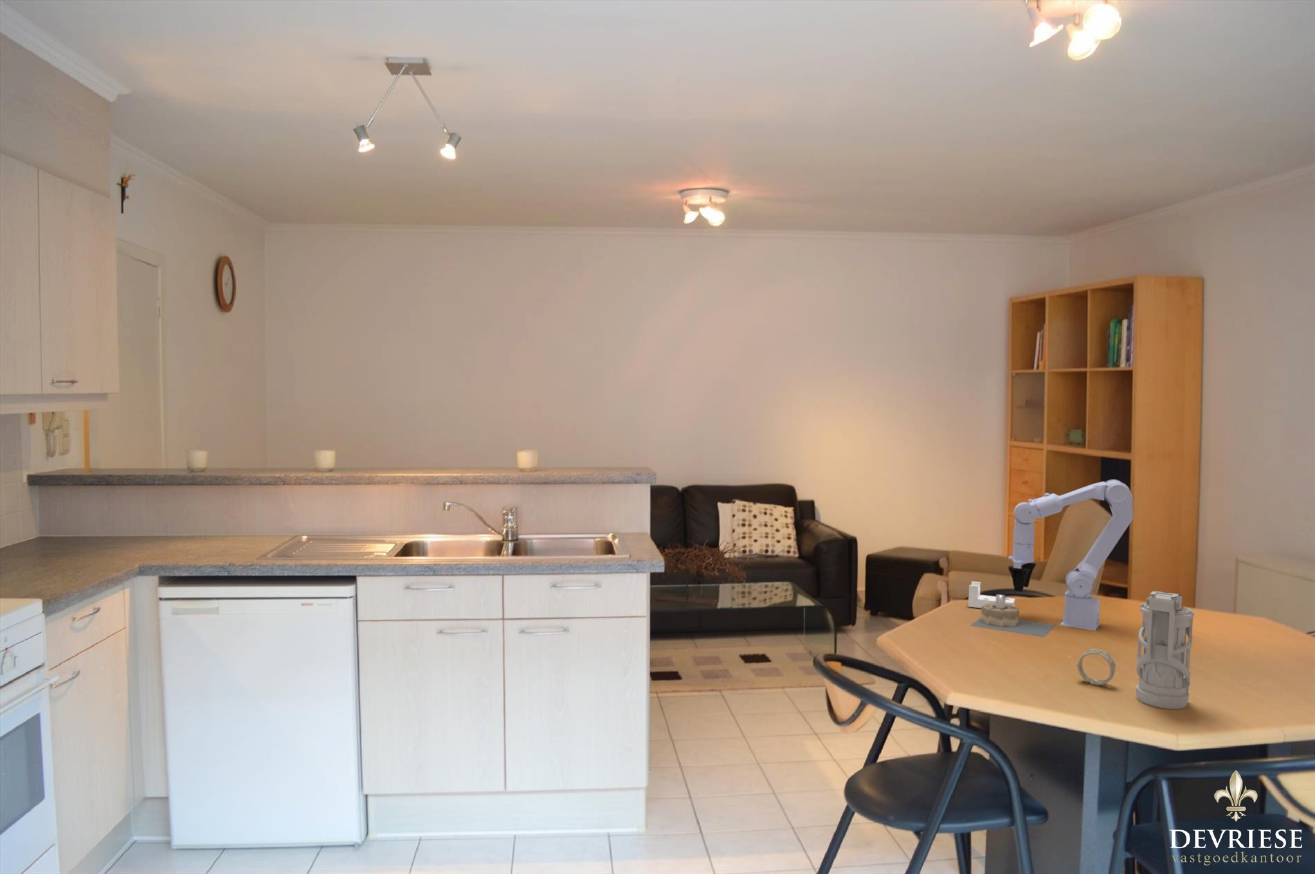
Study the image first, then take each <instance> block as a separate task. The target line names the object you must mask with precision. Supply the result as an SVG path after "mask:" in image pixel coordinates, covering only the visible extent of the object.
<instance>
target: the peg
mask: <svg viewBox="0 0 1315 874" xmlns="http://www.w3.org/2000/svg"><path fill="white" fill-rule="evenodd" d="M995 597H996V607H995V608H997V609H1005V598H1007V597H1006V595H1005V594H995Z"/></svg>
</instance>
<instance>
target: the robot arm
mask: <svg viewBox="0 0 1315 874" xmlns="http://www.w3.org/2000/svg"><path fill="white" fill-rule="evenodd" d="M1090 499H1094V500H1099V501H1107V503H1108V504H1109V508H1110V511H1111V514H1112V516H1111V517H1110V519H1109V521H1108V522H1107V523H1106V525H1105V526H1104V528H1103V529H1102V530H1101V533H1100V534H1099V535H1098V537H1097V539H1096V540H1095V541H1094V543H1093V544H1092V546H1091V548H1090V549H1089V550H1088V552H1087V554H1086V555H1085V556H1084V558H1083V559H1082V560H1081V561H1080V562H1079V563H1078V564H1077V566H1076V567H1075V568H1074V569H1072V570H1071V571H1069V572H1068V573H1067V574H1066V576H1065V584H1066V586H1067V587H1068V588H1067V590H1066V591H1065V592H1064V603H1063V604H1064V606H1063V620H1062V621H1061V622H1060V624H1059V626H1061V627H1069V628H1073V629H1074V628H1075V629H1082V630H1089V631H1097V629H1098V628H1099V626H1100V609H1101V599H1100V598H1098V597H1093V595H1092V593H1091V592H1092V591H1093V588H1094V587H1093V583H1094V582H1095V580H1096V578H1097V576H1098V573H1099V570H1100V569H1101V567H1102V566H1103V564H1104V563H1105V561H1106V560H1107V558H1108V557H1109V555H1110V554H1111V552H1112V551H1113V550H1114V548H1115V546H1116V545H1117V544H1118V542H1119V541H1120V539H1121V537H1122V536H1123V535H1124V532H1126V530H1127V528H1128V527H1129V525H1130V524H1131V522H1132V521H1133V519H1134V510H1133V508H1134V507H1133V506H1134V505H1133V500H1134V497H1133V494H1132V492H1131V490H1130V488H1129V486H1127V484H1126V483H1123V482H1122V481H1120V480H1118V479H1108V480H1106V481H1099V482H1096V483H1092V484H1089V485H1086V486H1083V487H1081V488H1078V489H1075V490H1073V491H1069V492H1067V493H1065V494H1064V493H1063V494H1061V495H1058V494H1056V493H1054V492H1053V493H1049V492H1046V493H1044V495H1043V496H1040V497H1038V498H1034V499H1032V498H1029V499H1028V500H1027V502H1026V501H1025V502H1023V501H1022V502H1019V503H1018V504H1016V506H1015V507H1014V510H1013V516H1014V523H1013V524H1014V527H1013V534H1012V535H1013V536H1012V537H1013V538H1012V555H1011V556H1010V555H1009V556H1008V560H1011V562H1013V565H1009V566H1008V568H1007V569H1008V571H1009V573H1010V576H1011V579H1012V585H1013V589H1014V592H1020V593H1021V592H1023V590H1024V588H1029V585H1030V581H1031V577H1032V575H1033V572H1034V569H1035V567H1036V566H1037V563H1035V558H1034V549H1035V548H1034V547H1035V521H1036V519H1042V518H1043V519H1044V518H1046V517H1048V516H1052V515H1054V514H1058V513H1061V512H1062V510H1063V508H1064V507H1065V506H1069V505H1072V504H1073V505H1074V504H1077V503H1081V502H1082V501H1083V502H1084V501H1086V500H1090Z"/></svg>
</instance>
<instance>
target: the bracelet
mask: <svg viewBox="0 0 1315 874" xmlns="http://www.w3.org/2000/svg"><path fill="white" fill-rule="evenodd" d="M1089 655H1097V656H1100V657H1102V658H1103V659H1104V660H1105V661H1106V662H1107V664H1108V666H1109V676H1108V677H1106V678H1105V679H1096V678H1093V677H1090V675H1088V674H1086V672H1085V671H1084V668H1083V660H1084V658H1085V657H1087V656H1089ZM1076 667H1077V671H1078V673H1079V676H1080V677H1081V678H1082V679H1083V680H1084V681H1085V682H1087V683H1089V684H1091V685H1094V686H1104V685H1106V684H1107V683H1109V682H1110V681H1112V679H1113V678H1114V676H1115V672H1116V663H1115V660H1114V659H1113V657H1112V656H1111V655H1110V654H1109V652H1106V651H1105V650H1102V649H1099V648H1090V649H1087V650H1086V651H1084V652H1083V653H1082V655H1080V657H1079V659H1078V662H1077V663H1076Z"/></svg>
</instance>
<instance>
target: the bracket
mask: <svg viewBox="0 0 1315 874" xmlns="http://www.w3.org/2000/svg"><path fill="white" fill-rule="evenodd" d="M981 584H982V583H981V581H973V580H972V581H971V584H969V586H968V603H967V604H968V605H967V606H968V607H969V608H977V609H981V607H982V605H984V604H989V603H996V596H994V595H985V594H981ZM1005 604H1006V605H1012V606H1014V607H1016V606H1015V605H1016V599H1015V598H1012V597H1005Z"/></svg>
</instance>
